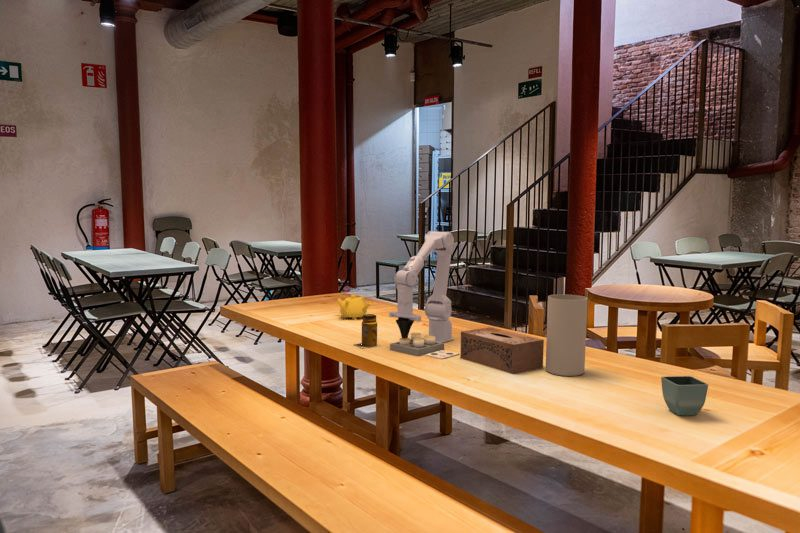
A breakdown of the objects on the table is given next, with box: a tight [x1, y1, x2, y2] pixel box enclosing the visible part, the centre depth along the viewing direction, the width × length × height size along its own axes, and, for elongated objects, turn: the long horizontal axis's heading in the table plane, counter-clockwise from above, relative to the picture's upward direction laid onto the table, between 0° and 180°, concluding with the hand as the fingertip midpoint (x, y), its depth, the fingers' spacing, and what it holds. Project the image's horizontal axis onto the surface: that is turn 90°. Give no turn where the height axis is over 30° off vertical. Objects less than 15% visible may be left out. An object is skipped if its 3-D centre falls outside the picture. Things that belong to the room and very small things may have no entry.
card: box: [424, 349, 460, 360], centre depth 232 cm, size 10×8×1 cm
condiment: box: [353, 313, 382, 349], centre depth 245 cm, size 7×8×12 cm
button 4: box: [424, 334, 435, 345], centre depth 239 cm, size 4×4×3 cm
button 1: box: [398, 337, 411, 345], centre depth 239 cm, size 4×4×3 cm
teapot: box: [336, 294, 372, 320], centre depth 304 cm, size 20×18×11 cm
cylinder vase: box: [545, 294, 588, 377], centre depth 209 cm, size 12×12×25 cm
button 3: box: [413, 337, 425, 348], centre depth 235 cm, size 4×4×3 cm
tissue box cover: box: [459, 326, 545, 375], centre depth 221 cm, size 26×14×10 cm, turn 36°
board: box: [389, 338, 445, 357], centre depth 240 cm, size 15×14×2 cm
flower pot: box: [660, 375, 709, 416], centre depth 169 cm, size 9×9×9 cm
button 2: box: [410, 332, 422, 342], centre depth 244 cm, size 4×4×3 cm
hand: (404, 337), depth 239 cm, fingers closed
